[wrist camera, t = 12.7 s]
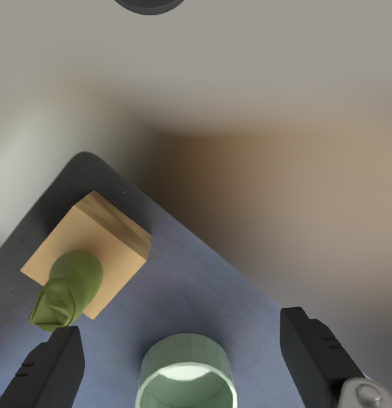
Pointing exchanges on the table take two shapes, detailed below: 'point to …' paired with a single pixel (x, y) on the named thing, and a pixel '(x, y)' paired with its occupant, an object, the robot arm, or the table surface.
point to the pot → (186, 374)
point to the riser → (94, 246)
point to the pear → (67, 290)
